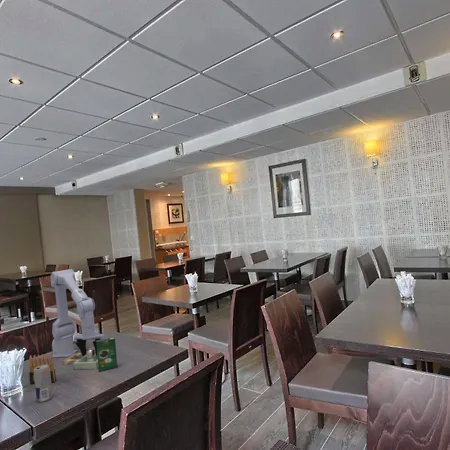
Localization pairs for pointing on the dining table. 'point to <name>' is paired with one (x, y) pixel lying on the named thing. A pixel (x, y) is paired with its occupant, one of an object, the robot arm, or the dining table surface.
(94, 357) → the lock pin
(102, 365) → the coffee box
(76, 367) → the tray
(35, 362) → the ammunition clip
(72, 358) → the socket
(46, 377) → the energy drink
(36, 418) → the dining table surface
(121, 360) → the dining table surface
